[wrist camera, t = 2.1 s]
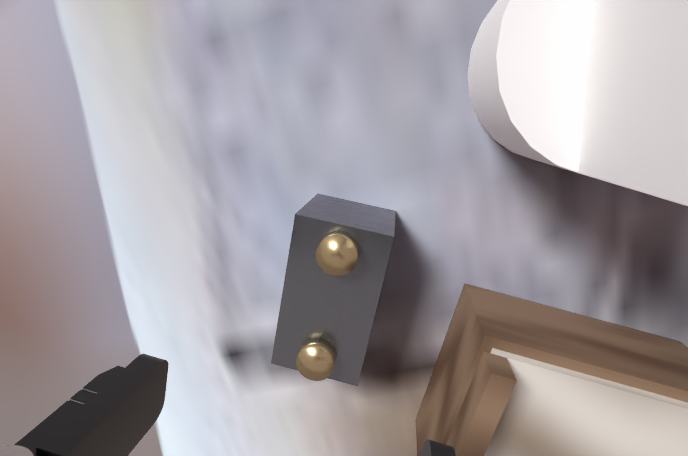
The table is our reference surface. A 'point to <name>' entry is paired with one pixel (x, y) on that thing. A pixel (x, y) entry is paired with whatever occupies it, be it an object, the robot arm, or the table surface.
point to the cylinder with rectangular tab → (589, 88)
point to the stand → (552, 384)
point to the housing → (332, 287)
